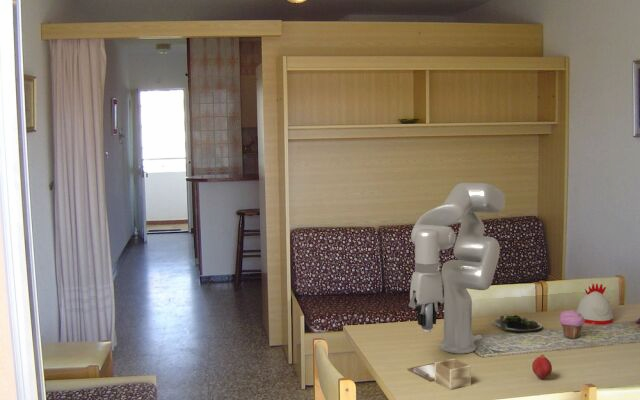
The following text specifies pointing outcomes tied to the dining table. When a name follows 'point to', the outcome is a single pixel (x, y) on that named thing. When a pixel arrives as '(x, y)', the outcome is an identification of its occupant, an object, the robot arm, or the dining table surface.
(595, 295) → the white and red dome
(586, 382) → the dining table surface
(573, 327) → the cupcake
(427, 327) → the cylinder
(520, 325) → the salad plate
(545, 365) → the onion
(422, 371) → the clipboard
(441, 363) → the wooden box
